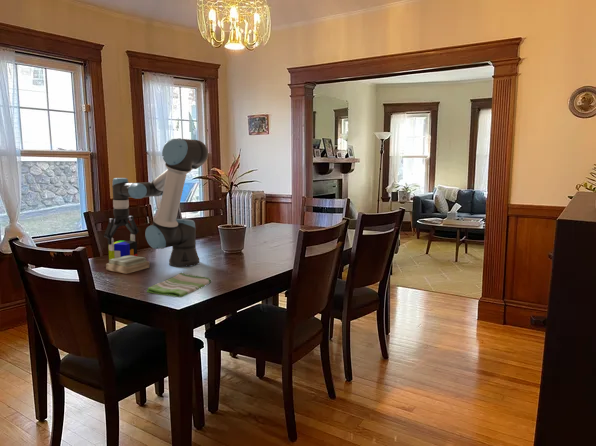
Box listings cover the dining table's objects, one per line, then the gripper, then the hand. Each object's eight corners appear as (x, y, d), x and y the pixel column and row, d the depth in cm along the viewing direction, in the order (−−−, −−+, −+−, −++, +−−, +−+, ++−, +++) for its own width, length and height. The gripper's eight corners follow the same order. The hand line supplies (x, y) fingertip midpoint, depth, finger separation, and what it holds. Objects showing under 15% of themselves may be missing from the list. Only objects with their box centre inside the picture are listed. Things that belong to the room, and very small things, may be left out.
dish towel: (212, 283, 192) (212, 275, 192) (182, 298, 171) (181, 289, 170) (179, 279, 198) (179, 271, 198) (145, 293, 177) (145, 285, 176)
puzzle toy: (126, 264, 224) (125, 244, 223) (109, 262, 226) (108, 243, 225) (137, 259, 234) (136, 241, 233) (120, 258, 236) (119, 240, 235)
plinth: (149, 267, 217) (149, 257, 217) (126, 273, 205) (126, 263, 204) (129, 264, 224) (129, 254, 223) (106, 269, 212) (105, 259, 211)
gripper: (135, 205, 239) (136, 243, 242) (95, 209, 217) (96, 251, 220) (145, 206, 235) (146, 245, 239) (105, 210, 214) (106, 253, 217)
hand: (122, 248), depth 229 cm, fingers open, 13 cm apart
